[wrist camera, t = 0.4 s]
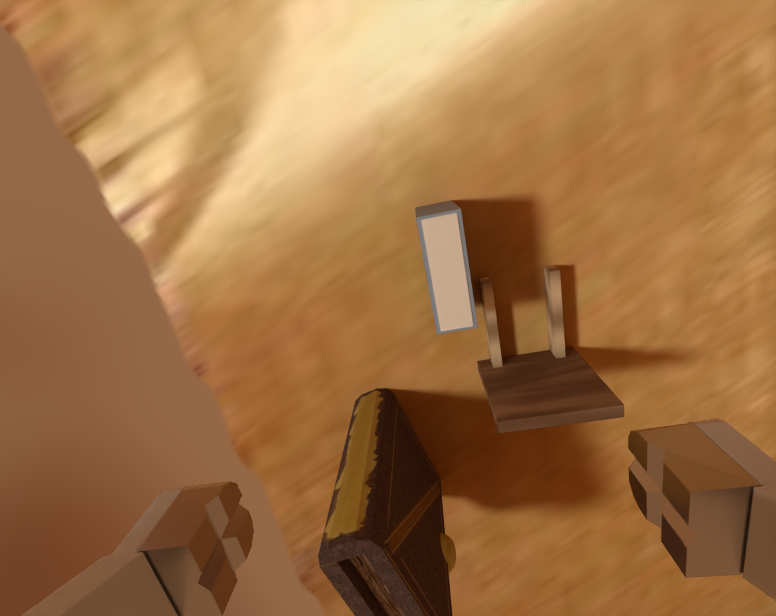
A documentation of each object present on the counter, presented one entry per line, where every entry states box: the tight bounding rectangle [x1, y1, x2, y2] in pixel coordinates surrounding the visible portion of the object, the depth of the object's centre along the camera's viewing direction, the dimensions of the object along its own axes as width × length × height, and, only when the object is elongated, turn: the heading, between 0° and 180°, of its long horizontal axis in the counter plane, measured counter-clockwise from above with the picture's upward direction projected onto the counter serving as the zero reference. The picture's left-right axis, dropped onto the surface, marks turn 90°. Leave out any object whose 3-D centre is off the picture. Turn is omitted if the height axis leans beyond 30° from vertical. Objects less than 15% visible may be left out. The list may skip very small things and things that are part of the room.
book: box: [318, 388, 456, 616], centre depth 50 cm, size 22×8×25 cm, turn 26°
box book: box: [416, 200, 478, 334], centre depth 46 cm, size 13×4×10 cm, turn 12°
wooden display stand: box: [477, 265, 624, 433], centre depth 46 cm, size 14×13×14 cm
